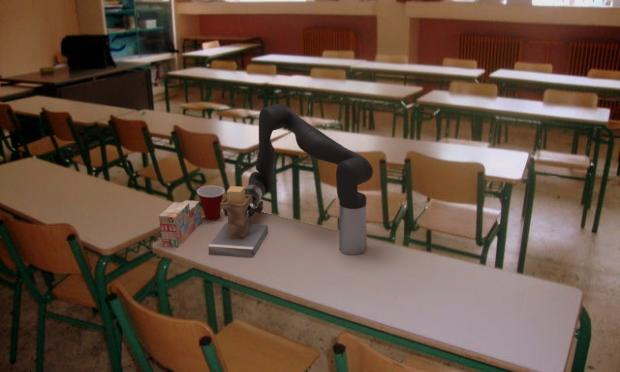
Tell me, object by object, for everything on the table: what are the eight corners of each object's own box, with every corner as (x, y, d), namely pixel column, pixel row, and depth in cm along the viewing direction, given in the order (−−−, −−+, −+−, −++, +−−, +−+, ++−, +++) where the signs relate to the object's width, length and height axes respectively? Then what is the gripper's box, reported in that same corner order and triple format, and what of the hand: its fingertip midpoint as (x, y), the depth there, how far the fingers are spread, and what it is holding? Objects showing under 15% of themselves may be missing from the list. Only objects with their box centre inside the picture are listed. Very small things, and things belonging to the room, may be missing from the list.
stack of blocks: (187, 221, 220) (184, 192, 215) (202, 222, 219) (199, 193, 214) (162, 246, 201) (158, 215, 196) (178, 247, 199) (174, 216, 195)
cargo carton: (245, 199, 198) (244, 186, 196) (241, 205, 193) (240, 192, 192) (231, 199, 199) (230, 186, 197) (227, 204, 194) (226, 191, 192)
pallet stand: (254, 230, 204) (252, 194, 199) (247, 241, 196) (245, 204, 191) (230, 228, 206) (228, 193, 201) (223, 239, 197) (220, 203, 192)
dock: (267, 231, 209) (267, 224, 208) (253, 257, 191) (252, 249, 190) (227, 229, 212) (226, 221, 211) (209, 254, 194) (208, 246, 193)
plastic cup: (216, 225, 216) (214, 196, 211) (194, 220, 220) (191, 192, 216) (232, 214, 225) (230, 187, 220) (210, 210, 229) (207, 183, 225)
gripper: (231, 187, 212) (217, 203, 198) (267, 189, 210) (256, 206, 195) (233, 205, 215) (219, 223, 200) (268, 207, 213) (257, 225, 198)
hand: (237, 214), depth 198 cm, fingers open, 8 cm apart
